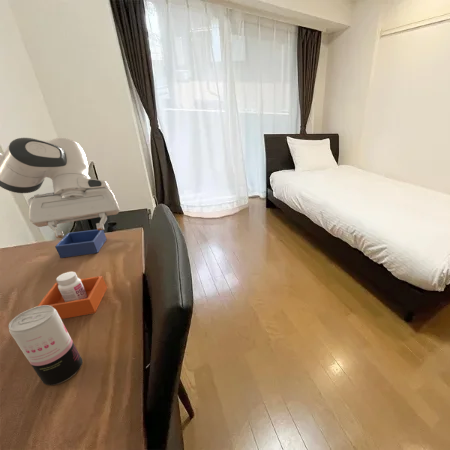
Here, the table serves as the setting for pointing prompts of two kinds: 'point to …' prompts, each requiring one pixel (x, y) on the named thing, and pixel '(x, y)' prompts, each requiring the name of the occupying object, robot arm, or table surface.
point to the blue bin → (81, 243)
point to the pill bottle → (71, 287)
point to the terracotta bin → (94, 291)
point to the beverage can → (46, 344)
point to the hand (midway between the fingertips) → (80, 233)
